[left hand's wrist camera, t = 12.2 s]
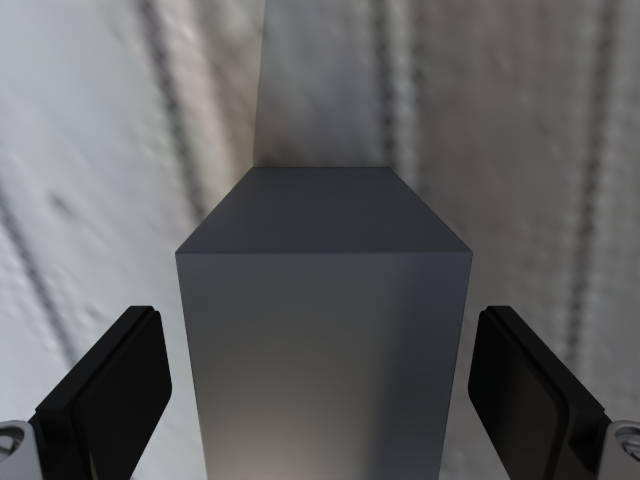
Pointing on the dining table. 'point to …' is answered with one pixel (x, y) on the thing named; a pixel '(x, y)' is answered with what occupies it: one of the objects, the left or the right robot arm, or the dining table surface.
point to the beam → (323, 326)
